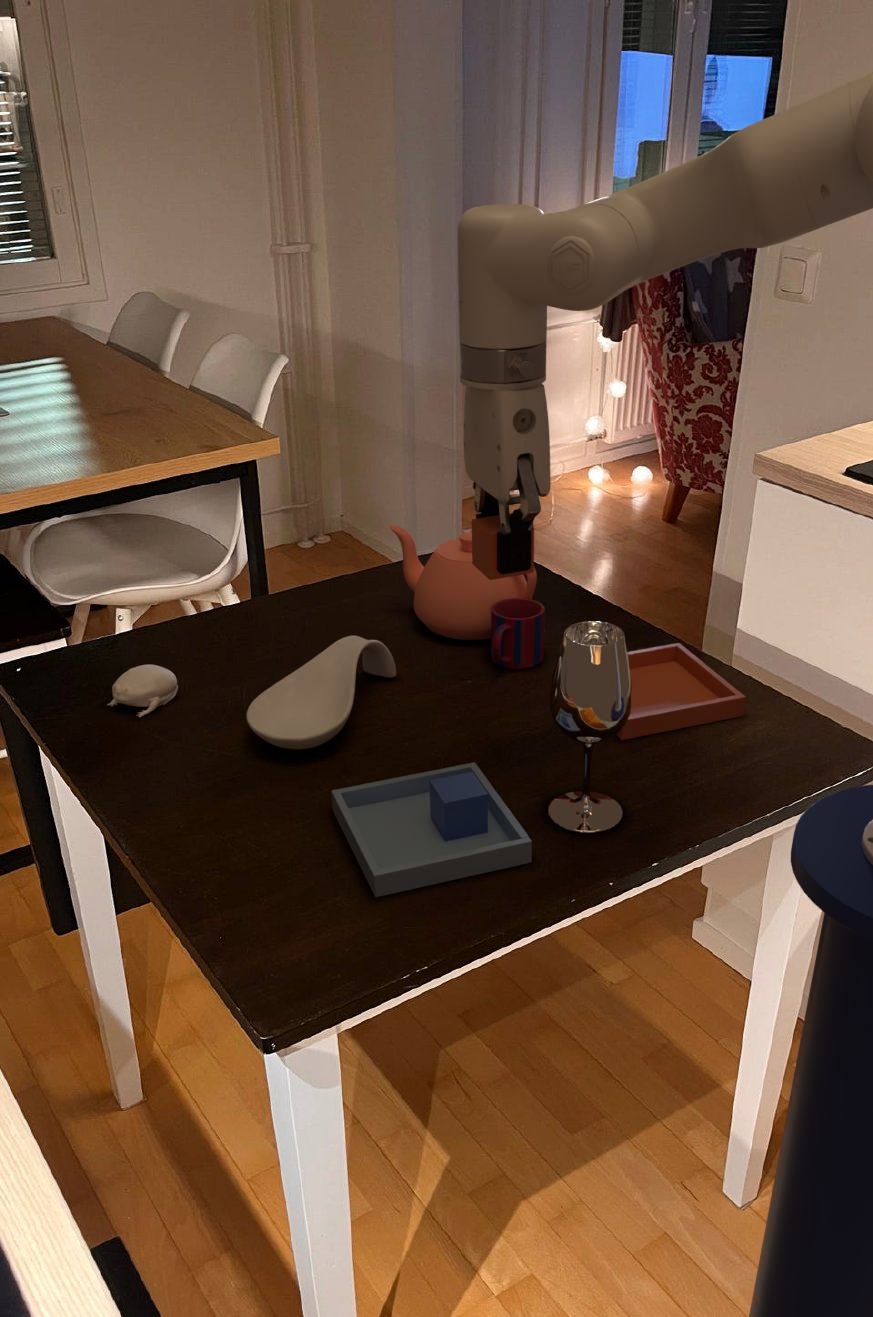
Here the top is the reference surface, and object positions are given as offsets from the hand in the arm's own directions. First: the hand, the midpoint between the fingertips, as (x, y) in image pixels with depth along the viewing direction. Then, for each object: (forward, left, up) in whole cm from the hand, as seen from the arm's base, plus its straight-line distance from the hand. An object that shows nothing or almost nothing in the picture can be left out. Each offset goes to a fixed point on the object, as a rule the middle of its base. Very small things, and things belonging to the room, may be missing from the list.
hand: (503, 559), depth 112 cm
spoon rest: (+22, +13, -25) cm, 36 cm away
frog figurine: (+33, +33, -25) cm, 53 cm away
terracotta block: (0, 0, -1) cm, 1 cm away
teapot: (+41, -11, -25) cm, 49 cm away
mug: (+27, -12, -25) cm, 38 cm away
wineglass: (-8, -6, -25) cm, 27 cm away
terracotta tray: (+12, -24, -25) cm, 36 cm away
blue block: (-6, +7, -25) cm, 26 cm away
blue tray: (-6, +10, -25) cm, 28 cm away
